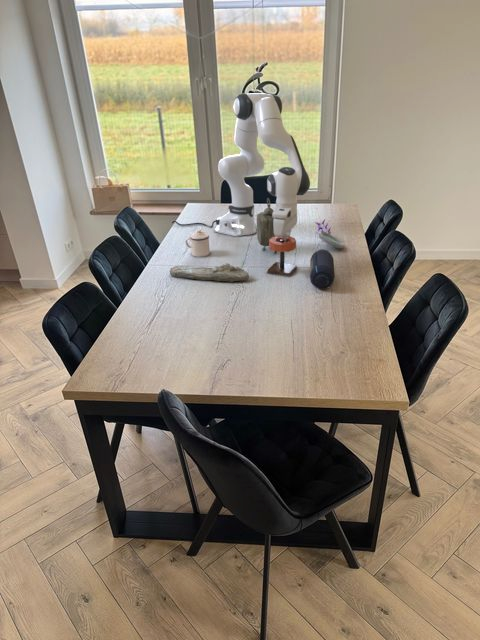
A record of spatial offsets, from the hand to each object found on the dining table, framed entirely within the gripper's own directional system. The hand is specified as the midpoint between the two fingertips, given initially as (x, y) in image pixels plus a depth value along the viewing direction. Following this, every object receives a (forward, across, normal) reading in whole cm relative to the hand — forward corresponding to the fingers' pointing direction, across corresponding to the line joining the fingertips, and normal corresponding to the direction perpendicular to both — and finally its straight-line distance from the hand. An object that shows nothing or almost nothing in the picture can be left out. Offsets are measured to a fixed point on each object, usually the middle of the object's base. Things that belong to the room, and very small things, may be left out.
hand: (285, 240), depth 212 cm
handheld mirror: (+13, -39, +9) cm, 42 cm away
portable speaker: (+13, +7, +19) cm, 24 cm away
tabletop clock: (+13, -17, -15) cm, 26 cm away
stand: (+12, +4, 0) cm, 13 cm away
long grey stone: (+13, +22, -27) cm, 37 cm away
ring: (+2, +4, 0) cm, 5 cm away
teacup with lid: (+13, -1, -45) cm, 47 cm away
